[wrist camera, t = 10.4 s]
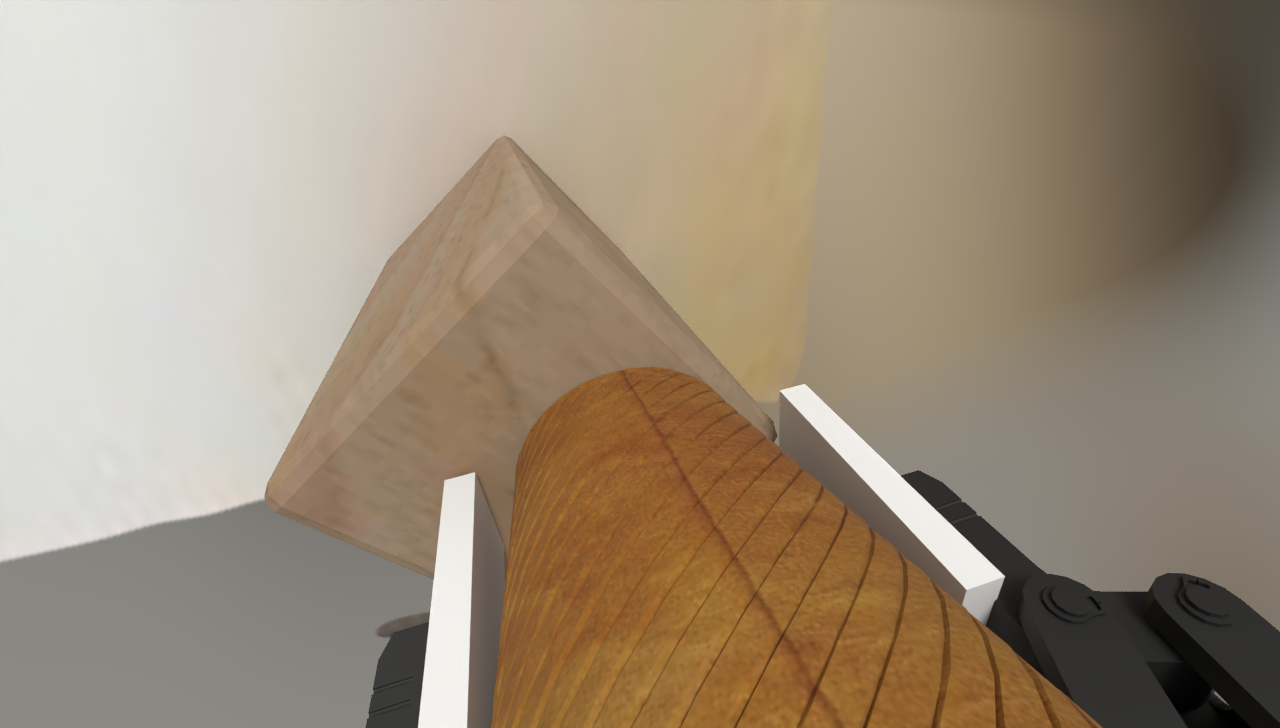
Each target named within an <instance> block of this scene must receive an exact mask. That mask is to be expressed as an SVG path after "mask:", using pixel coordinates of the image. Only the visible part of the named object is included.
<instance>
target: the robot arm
mask: <svg viewBox="0 0 1280 728" xmlns="http://www.w3.org/2000/svg"><path fill="white" fill-rule="evenodd" d="M779 426H780V427H779V428H780V429H779V431H780V432H779V447H780V448H781V449H782V450H783V452H782V454H784V453H786V454H787V455H788V456H790V457H791V458H792V459H794V460H795V461H796V462H797V463H799V466H800V470H801V469H805V470H806V471H807V472H808V473H809V474H811V475H812V476H813V477H814V478H816V479H817V480H818V481H819V482H821V486H824V487H825V488H826V489H828V490H829V491H830V492H831V493H832V494H834V495H835V496H836V497H837V498H839V499H840V500H841V501H842V502H844V505H845V506H847V507H848V508H849V509H851V510H852V511H853V512H854V513H856V514H857V515H858V516H859V517H861V518H862V519H863V520H864V521H866V522H867V524H868V527H871V528H872V529H874V530H875V531H876V532H877V533H879V534H880V535H881V536H882V537H883V538H885V539H886V540H887V541H888V542H890V543H891V544H892V545H893V546H895V547H896V550H897V551H898V552H900V553H901V554H902V555H904V556H905V557H906V558H907V559H908V560H910V561H911V562H912V563H913V564H915V565H916V566H917V567H918V568H920V569H921V570H922V571H923V572H925V573H926V574H927V575H928V576H929V578H930V579H931V580H932V581H933V582H935V583H936V584H937V585H938V586H940V587H941V588H942V589H943V590H944V591H946V592H947V593H948V594H949V595H951V596H952V597H953V598H954V599H955V600H957V601H958V602H959V603H960V604H962V605H963V606H964V607H965V608H966V609H967V611H968V612H969V613H970V614H971V615H973V616H974V617H975V618H976V619H978V620H979V621H980V622H981V623H982V624H984V625H985V626H986V627H987V628H989V629H990V630H991V631H992V632H993V633H995V634H996V635H997V636H998V637H999V638H1001V639H1002V640H1003V641H1004V642H1006V643H1007V644H1008V645H1009V646H1010V647H1011V649H1012V650H1013V651H1014V652H1015V653H1016V654H1018V655H1019V656H1020V657H1021V658H1022V659H1023V660H1025V661H1026V662H1027V663H1028V664H1029V665H1030V666H1032V667H1033V668H1034V669H1035V670H1036V671H1037V672H1039V673H1040V674H1041V675H1042V676H1043V677H1044V678H1046V679H1047V680H1048V681H1049V682H1050V683H1052V684H1053V685H1054V686H1055V687H1056V688H1057V689H1059V690H1061V691H1062V692H1063V693H1064V694H1065V695H1066V696H1067V697H1068V698H1070V699H1071V700H1072V701H1073V702H1074V703H1075V704H1076V705H1078V706H1079V707H1080V708H1081V709H1082V710H1083V711H1084V712H1086V713H1087V714H1088V715H1089V716H1090V717H1091V718H1092V719H1094V720H1095V721H1096V722H1097V723H1098V724H1099V725H1100V726H1101V727H1103V728H1280V632H1279V631H1278V630H1277V629H1276V628H1275V627H1273V626H1272V625H1271V624H1270V623H1269V622H1267V621H1266V620H1265V619H1264V618H1263V617H1261V616H1260V615H1259V614H1258V613H1257V612H1256V611H1254V610H1253V609H1252V608H1251V607H1250V606H1248V605H1247V604H1246V603H1245V602H1243V601H1242V600H1241V599H1239V598H1238V597H1237V596H1235V595H1234V594H1232V593H1231V592H1229V591H1228V590H1226V589H1225V588H1223V587H1221V586H1219V585H1216V584H1214V583H1212V582H1210V581H1208V580H1206V579H1203V578H1199V577H1195V576H1191V575H1187V574H1178V573H1167V574H1164V575H1162V576H1159V577H1157V578H1156V579H1155V581H1154V582H1153V584H1152V586H1151V588H1150V589H1149V591H1148V592H1100V591H1092V590H1091V589H1090V588H1088V587H1087V586H1085V585H1084V584H1081V583H1079V582H1077V581H1074V580H1072V579H1070V578H1067V577H1063V576H1058V575H1053V574H1047V573H1045V572H1044V571H1043V570H1041V569H1040V568H1039V567H1037V566H1036V565H1035V564H1034V563H1032V561H1030V560H1029V559H1028V558H1027V557H1026V556H1025V555H1024V554H1023V553H1021V552H1020V551H1019V550H1018V549H1017V548H1016V547H1015V546H1014V545H1012V544H1011V543H1010V542H1009V541H1008V540H1007V539H1006V538H1005V537H1003V536H1002V535H1001V534H1000V533H999V532H998V531H996V529H994V528H993V527H992V526H991V525H990V524H989V523H988V522H986V521H985V520H984V519H983V518H982V517H981V516H977V514H976V512H975V511H974V510H973V509H972V508H971V507H970V506H968V505H967V504H966V503H965V502H964V503H963V502H962V501H961V498H959V497H958V496H957V495H956V494H955V493H954V492H953V491H951V490H950V489H949V488H948V487H947V486H946V485H945V484H944V483H942V482H940V481H939V480H937V479H935V478H933V477H931V476H929V475H927V474H925V473H923V472H921V471H915V472H912V473H908V474H905V475H902V476H900V475H899V474H898V473H897V472H896V471H895V470H894V469H893V468H892V467H890V465H889V464H887V463H886V462H885V461H884V460H883V459H882V458H881V457H880V456H879V455H878V454H877V453H876V452H875V451H874V450H873V449H872V448H871V447H870V446H869V445H868V444H867V443H866V442H865V441H863V439H861V438H860V437H859V436H858V435H857V434H856V433H855V432H854V431H853V430H852V429H851V428H850V427H849V426H848V425H847V424H846V423H845V422H844V421H843V420H842V419H841V418H839V416H838V415H837V414H835V413H834V412H833V411H832V410H831V409H830V408H829V407H828V406H827V405H826V404H825V403H824V402H823V401H822V400H821V399H820V398H819V397H818V396H817V395H816V394H815V393H813V391H812V390H810V389H809V388H808V387H807V386H806V385H805V384H803V385H799V386H795V387H792V388H788V389H784V390H780V425H779ZM504 589H505V566H504V544H503V542H502V539H501V537H500V534H499V532H498V529H497V527H496V524H495V521H494V519H493V516H492V514H491V511H490V509H489V506H488V504H487V501H486V499H485V496H484V493H483V491H482V488H481V486H480V483H479V481H478V478H477V476H476V473H475V472H474V473H470V474H467V475H463V476H459V477H455V478H452V479H448V480H445V481H444V490H443V499H442V509H441V518H440V527H439V536H438V546H437V555H436V564H435V574H434V583H433V592H432V602H431V611H430V620H429V622H427V623H424V624H421V625H417V626H414V627H411V628H407V629H404V630H401V631H398V632H394V633H393V635H392V637H391V638H390V640H389V642H388V644H387V646H386V647H385V650H384V651H383V653H382V655H381V657H380V658H379V661H378V665H377V670H376V676H375V681H374V687H373V690H374V694H373V695H372V697H371V702H370V708H369V719H367V724H366V728H491V723H492V715H493V698H494V689H495V681H496V673H497V659H498V651H499V643H500V628H501V620H502V612H503V597H504ZM1214 691H1216V692H1217V693H1218V694H1219V695H1220V696H1221V697H1222V698H1223V699H1224V700H1225V701H1226V702H1227V703H1228V704H1229V705H1230V706H1229V705H1227V704H1226V703H1224V702H1223V701H1222V700H1220V699H1219V698H1218V697H1217V696H1216V695H1215V694H1214V693H1213V692H1214Z"/></svg>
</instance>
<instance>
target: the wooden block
mask: <svg viewBox="0 0 1280 728" xmlns="http://www.w3.org/2000/svg"><path fill="white" fill-rule="evenodd" d="M642 367H658V368H665V369H672V370H675V371H678V372H681V373H684V374H687V375H690V376H693V377H696V378H697V379H699V380H700V381H702V382H704V383H705V384H707V385H708V386H710V387H711V388H712V389H713V390H714V391H715V392H716V393H717V394H718V395H719V396H721V397H722V398H723V399H724V400H725V402H726V403H728V404H730V405H731V406H732V407H733V408H734V409H736V410H737V411H738V414H741V415H742V416H743V417H744V418H746V419H747V420H748V421H750V422H751V426H755V427H756V428H757V429H758V430H760V431H761V432H762V433H763V434H765V435H766V439H770V440H771V441H772V442H773V443H774V441H775V439H776V438H777V433H776V431H775V427H774V423H773V421H772V420H771V419H770V418H769V416H768V415H767V414H766V413H765V412H764V411H763V409H762V408H761V407H760V406H759V405H758V404H757V403H756V402H755V400H754V399H753V398H752V397H751V396H750V395H749V394H748V393H747V392H746V390H745V389H744V388H743V387H742V386H741V385H740V384H739V383H738V381H737V380H736V379H735V378H734V377H733V376H732V375H731V374H730V372H729V371H728V370H727V369H726V368H725V367H724V366H723V365H722V363H721V362H720V361H719V360H718V359H717V358H716V357H715V356H714V354H713V353H712V352H711V351H710V350H709V349H708V348H707V347H706V346H705V344H704V343H703V342H702V341H701V340H700V339H699V338H698V337H697V335H696V334H695V333H694V332H693V331H692V330H691V329H690V328H689V326H688V325H687V324H686V323H685V322H684V321H683V320H682V319H681V317H680V316H679V315H678V314H677V313H676V312H675V311H674V310H673V308H672V307H671V306H670V305H669V304H668V303H667V302H666V301H665V299H664V298H663V297H662V296H661V295H660V294H659V293H658V292H657V291H656V289H655V288H654V287H653V286H652V285H651V284H650V283H649V282H648V280H647V279H646V278H645V277H644V276H643V275H642V274H641V273H640V271H639V270H638V269H637V268H636V267H635V266H634V265H633V264H632V262H631V261H630V260H629V259H628V258H627V257H626V256H625V255H624V254H623V253H622V251H621V250H620V249H619V248H618V247H617V246H616V245H615V244H614V243H613V242H612V241H611V240H610V239H609V238H608V237H607V236H606V235H605V234H604V233H603V232H602V231H601V230H600V229H599V228H598V227H597V226H596V225H595V224H594V223H593V222H592V221H591V220H590V219H589V218H588V217H587V216H586V215H585V214H584V213H583V212H582V211H581V210H580V208H579V207H578V206H577V205H576V204H575V203H574V202H573V201H572V200H571V199H570V198H569V197H568V196H567V195H566V194H565V193H564V192H563V191H562V190H561V189H560V188H559V187H558V186H557V185H556V184H555V183H554V182H553V181H552V180H551V179H550V178H549V177H548V176H547V175H546V174H545V173H544V172H543V171H542V170H541V169H540V168H539V167H538V165H537V164H536V163H535V162H534V161H533V160H532V159H531V158H530V157H529V156H528V155H527V154H526V153H525V152H524V151H523V150H522V149H521V148H520V147H519V146H518V145H517V144H516V143H515V142H514V141H513V140H512V139H510V138H508V137H506V136H503V137H501V138H498V139H497V140H496V141H495V142H494V143H493V145H492V146H491V147H490V148H489V149H488V150H487V151H486V152H485V153H484V155H483V156H482V157H481V158H480V159H479V160H478V161H477V162H476V163H475V164H474V166H473V167H472V168H471V169H470V170H469V171H468V172H467V173H466V174H465V176H464V177H463V178H462V179H461V180H460V181H459V182H458V183H457V184H456V185H455V187H454V188H453V189H452V190H451V191H450V192H449V193H448V194H447V195H446V197H445V198H444V199H443V200H442V201H441V202H440V203H439V204H438V205H437V206H436V208H435V209H434V210H433V211H432V212H431V213H430V214H429V215H428V216H427V218H426V219H425V220H424V221H423V222H422V223H421V224H420V225H419V226H418V227H417V229H416V230H415V231H414V232H413V233H412V234H411V235H410V236H409V237H408V239H407V240H406V241H405V242H404V243H403V244H402V245H401V246H400V247H399V248H398V250H397V251H396V252H395V253H394V254H393V255H392V256H391V257H390V258H389V260H388V261H387V263H386V265H385V266H384V268H383V270H382V272H381V274H380V276H379V277H378V279H377V281H376V283H375V285H374V287H373V289H372V290H371V292H370V294H369V296H368V298H367V300H366V302H365V303H364V305H363V307H362V309H361V311H360V313H359V315H358V316H357V318H356V320H355V322H354V324H353V326H352V328H351V329H350V331H349V333H348V335H347V337H346V339H345V341H344V342H343V344H342V346H341V348H340V350H339V352H338V353H337V355H336V357H335V359H334V361H333V363H332V365H331V366H330V368H329V370H328V372H327V374H326V376H325V378H324V379H323V381H322V383H321V385H320V387H319V389H318V391H317V392H316V394H315V396H314V398H313V400H312V402H311V404H310V405H309V407H308V409H307V411H306V413H305V415H304V417H303V418H302V420H301V422H300V424H299V426H298V428H297V429H296V431H295V433H294V435H293V437H292V439H291V441H290V442H289V444H288V446H287V448H286V450H285V452H284V454H283V455H282V457H281V459H280V461H279V463H278V465H277V467H276V468H275V470H274V472H273V474H272V476H271V478H270V480H269V481H268V483H267V488H266V492H265V503H266V504H267V505H268V506H269V507H270V508H271V509H272V510H273V511H274V512H276V513H279V514H281V515H283V516H285V517H288V518H290V519H292V520H295V521H297V522H299V523H302V524H304V525H307V526H309V527H311V528H314V529H316V530H318V531H321V532H323V533H325V534H328V535H330V536H332V537H335V538H337V539H339V540H342V541H344V542H346V543H349V544H351V545H354V546H356V547H358V548H361V549H363V550H365V551H368V552H370V553H372V554H375V555H377V556H379V557H382V558H384V559H386V560H389V561H391V562H393V563H396V564H398V565H400V566H403V567H405V568H408V569H410V570H413V571H415V572H417V573H419V574H422V575H424V576H426V577H429V578H431V579H433V580H434V574H435V564H436V555H437V546H438V536H439V527H440V518H441V509H442V499H443V490H444V481H445V480H448V479H452V478H455V477H459V476H463V475H467V474H470V473H474V472H475V473H476V476H477V478H478V481H479V483H480V486H481V488H482V491H483V493H484V496H485V499H486V501H487V504H488V506H489V509H490V511H491V514H492V516H493V519H494V521H495V524H496V527H497V529H498V532H499V534H500V537H501V539H502V542H503V544H504V566H505V582H506V570H507V562H508V549H509V541H510V529H511V521H512V513H513V501H514V490H515V480H516V466H517V462H518V457H519V454H520V451H521V449H522V447H523V445H524V442H525V440H526V438H527V436H528V433H529V431H530V430H531V428H532V427H533V426H534V424H535V423H536V422H537V421H538V419H539V418H540V417H541V415H542V414H543V413H544V412H545V411H546V410H547V409H548V408H549V407H550V406H551V405H553V404H554V403H555V402H556V401H557V400H558V399H559V398H560V397H561V396H563V395H564V394H566V393H568V392H569V391H571V390H572V389H574V388H576V387H577V386H579V385H580V384H582V383H584V382H586V381H589V380H591V379H594V378H596V377H599V376H601V375H604V374H608V373H612V372H616V371H620V370H624V369H628V368H642Z"/></svg>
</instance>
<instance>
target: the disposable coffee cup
mask: <svg viewBox="0 0 1280 728" xmlns="http://www.w3.org/2000/svg"><path fill="white" fill-rule="evenodd" d="M782 452H783V450H782V449H781V448H780V447H778V446H777V445H776V444H775V443H773V442H772V441H771V440H770V439H766V435H765V434H763V433H762V432H761V431H760V430H758V429H757V428H756V427H755V426H751V422H750V421H748V420H747V419H746V418H744V417H743V416H742V415H741V414H738V411H737V410H736V409H734V408H733V407H732V406H731V405H730V404H728V403H726V402H725V400H724V399H723V398H722V397H721V396H719V395H718V394H717V393H716V392H715V391H714V390H713V389H712V388H711V387H710V386H708V385H707V384H705V383H704V382H702V381H700V380H699V379H697V378H696V377H693V376H690V375H687V374H684V373H681V372H678V371H675V370H672V369H665V368H658V367H642V368H628V369H624V370H620V371H616V372H612V373H608V374H604V375H601V376H599V377H596V378H594V379H591V380H589V381H586V382H584V383H582V384H580V385H579V386H577V387H576V388H574V389H572V390H571V391H569V392H568V393H566V394H564V395H563V396H561V397H560V398H559V399H558V400H557V401H556V402H555V403H554V404H553V405H551V406H550V407H549V408H548V409H547V410H546V411H545V412H544V413H543V414H542V415H541V417H540V418H539V419H538V421H537V422H536V423H535V424H534V426H533V427H532V428H531V430H530V431H529V433H528V436H527V438H526V440H525V442H524V445H523V447H522V449H521V451H520V454H519V457H518V462H517V466H516V480H515V490H514V501H513V513H512V521H511V529H510V541H509V549H508V562H507V570H506V582H505V589H504V597H503V612H502V620H501V628H500V643H499V651H498V659H497V673H496V681H495V689H494V698H493V715H492V723H491V728H1103V727H1101V726H1100V725H1099V724H1098V723H1097V722H1096V721H1095V720H1094V719H1092V718H1091V717H1090V716H1089V715H1088V714H1087V713H1086V712H1084V711H1083V710H1082V709H1081V708H1080V707H1079V706H1078V705H1076V704H1075V703H1074V702H1073V701H1072V700H1071V699H1070V698H1068V697H1067V696H1066V695H1065V694H1064V693H1063V692H1062V691H1061V690H1059V689H1057V688H1056V687H1055V686H1054V685H1053V684H1052V683H1050V682H1049V681H1048V680H1047V679H1046V678H1044V677H1043V676H1042V675H1041V674H1040V673H1039V672H1037V671H1036V670H1035V669H1034V668H1033V667H1032V666H1030V665H1029V664H1028V663H1027V662H1026V661H1025V660H1023V659H1022V658H1021V657H1020V656H1019V655H1018V654H1016V653H1015V652H1014V651H1013V650H1012V649H1011V647H1010V646H1009V645H1008V644H1007V643H1006V642H1004V641H1003V640H1002V639H1001V638H999V637H998V636H997V635H996V634H995V633H993V632H992V631H991V630H990V629H989V628H987V627H986V626H985V625H984V624H982V623H981V622H980V621H979V620H978V619H976V618H975V617H974V616H973V615H971V614H970V613H969V612H968V611H967V609H966V608H965V607H964V606H963V605H962V604H960V603H959V602H958V601H957V600H955V599H954V598H953V597H952V596H951V595H949V594H948V593H947V592H946V591H944V590H943V589H942V588H941V587H940V586H938V585H937V584H936V583H935V582H933V581H932V580H931V579H930V578H929V576H928V575H927V574H926V573H925V572H923V571H922V570H921V569H920V568H918V567H917V566H916V565H915V564H913V563H912V562H911V561H910V560H908V559H907V558H906V557H905V556H904V555H902V554H901V553H900V552H898V551H897V550H896V547H895V546H893V545H892V544H891V543H890V542H888V541H887V540H886V539H885V538H883V537H882V536H881V535H880V534H879V533H877V532H876V531H875V530H874V529H872V528H871V527H868V524H867V522H866V521H864V520H863V519H862V518H861V517H859V516H858V515H857V514H856V513H854V512H853V511H852V510H851V509H849V508H848V507H847V506H845V505H844V502H842V501H841V500H840V499H839V498H837V497H836V496H835V495H834V494H832V493H831V492H830V491H829V490H828V489H826V488H825V487H824V486H821V482H819V481H818V480H817V479H816V478H814V477H813V476H812V475H811V474H809V473H808V472H807V471H806V470H805V469H801V470H800V466H799V463H797V462H796V461H795V460H794V459H792V458H791V457H790V456H788V455H787V454H786V453H784V454H782Z"/></svg>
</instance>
